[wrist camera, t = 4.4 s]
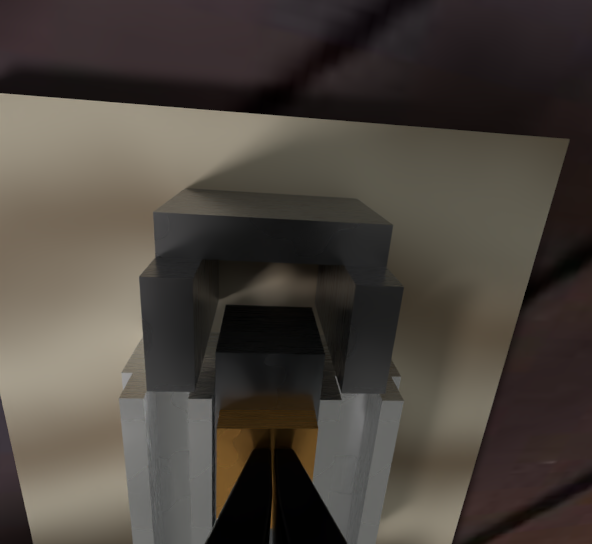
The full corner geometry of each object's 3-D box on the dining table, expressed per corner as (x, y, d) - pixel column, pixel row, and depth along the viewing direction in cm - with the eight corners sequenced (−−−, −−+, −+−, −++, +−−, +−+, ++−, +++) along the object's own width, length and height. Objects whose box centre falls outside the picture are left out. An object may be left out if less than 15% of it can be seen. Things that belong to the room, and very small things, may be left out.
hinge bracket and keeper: (305, 611, 19) (322, 808, 13) (195, 616, 18) (166, 823, 13) (357, 198, 12) (434, 254, 7) (185, 188, 12) (115, 239, 6)
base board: (415, 598, 21) (425, 631, 20) (71, 613, 20) (56, 650, 18) (537, 138, 13) (569, 139, 12) (-28, 93, 12) (-68, 87, 10)
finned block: (346, 536, 17) (365, 633, 14) (159, 541, 16) (133, 645, 13) (378, 336, 14) (414, 400, 11) (145, 330, 13) (106, 398, 10)
